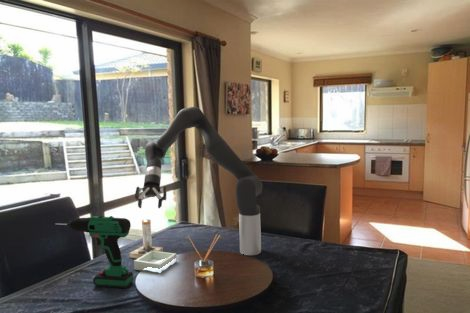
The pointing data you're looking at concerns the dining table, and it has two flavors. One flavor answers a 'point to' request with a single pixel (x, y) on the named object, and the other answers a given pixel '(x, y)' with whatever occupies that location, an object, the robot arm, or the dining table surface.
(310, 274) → the dining table surface
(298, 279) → the dining table surface
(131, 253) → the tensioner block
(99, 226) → the power drill
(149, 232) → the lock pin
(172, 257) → the tray
